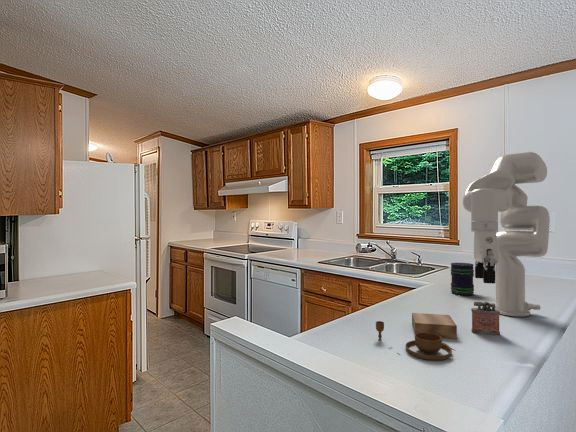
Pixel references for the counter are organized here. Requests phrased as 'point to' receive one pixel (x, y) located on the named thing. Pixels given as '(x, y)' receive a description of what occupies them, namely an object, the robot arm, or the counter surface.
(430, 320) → the walnut base
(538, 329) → the counter surface
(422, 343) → the place setting
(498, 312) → the lighter
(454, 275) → the storage jar
